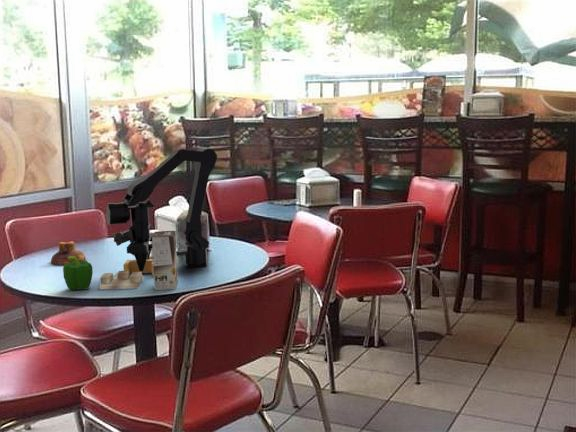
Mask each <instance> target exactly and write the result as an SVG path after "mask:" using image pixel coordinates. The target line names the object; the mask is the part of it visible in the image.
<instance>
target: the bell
mask: <svg viewBox="0 0 576 432" xmlns="http://www.w3.org/2000/svg"><path fill="white" fill-rule="evenodd" d="M75 243H76V242H74V241H72V240H71V241H69V242H65V241H61V242H59V243H58V251H57V252H56V253H54V254H53V255H52V257H51V258H50V264H52V265H54V266H64V264H66V263H72V262H74V260H73V259H71V260H69V259H68V257H70V256H72V257H76V258H77V259H78V262H82V261H87V260H86V258H87V257H86V256H85V253H83V252H82V251H80V250H78V249H76V244H75Z"/></svg>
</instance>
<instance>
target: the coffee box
mask: <svg viewBox="0 0 576 432" xmlns="http://www.w3.org/2000/svg"><path fill="white" fill-rule="evenodd" d="M152 234H153V236H152V241H151V244H152V259H153V267H154V276H153V282H154V283H153V285H154V290H155V291H163V290H164V291H165V290H175V289H176V288H177V286H178V283H179V279H178V277H179V276H178V275H179V274H178V257H177V255H178V254H177V235H176V230H161V231H154V233H152Z"/></svg>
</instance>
